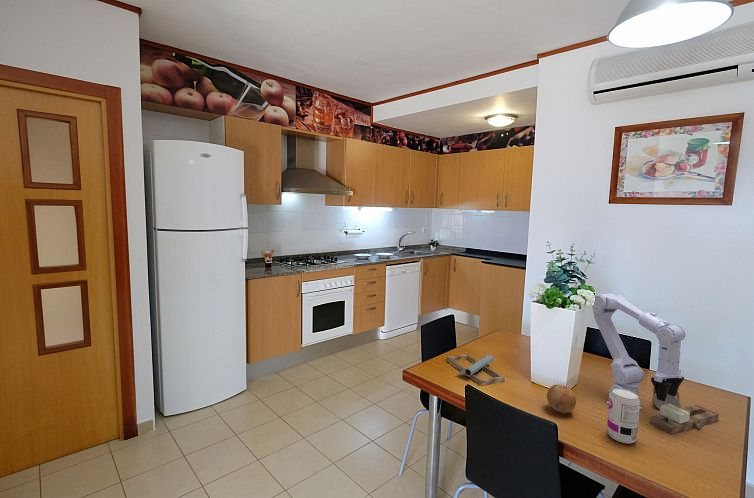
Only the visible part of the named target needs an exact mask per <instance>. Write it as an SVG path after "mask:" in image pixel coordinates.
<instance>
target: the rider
mask: <svg viewBox="0 0 754 498" xmlns="http://www.w3.org/2000/svg"><path fill="white" fill-rule="evenodd" d="M659 414H661V415H663V416H665V417H667V418H668V422H672V421H675V422H678V423H684V422H687V421H689V418H690V413H689V412H687V411H685V410H683V409H681V408H678V407H676V406H674V405H671V404H664V405H662V406H661V407H660V409H659Z"/></svg>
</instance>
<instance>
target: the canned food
mask: <svg viewBox="0 0 754 498" xmlns="http://www.w3.org/2000/svg"><path fill="white" fill-rule="evenodd" d="M652 392H653V393H652V395H653V396H652V401H653V404H654V406H655V407H656V408H657V409H658V410H660V407H661V406H662V405H664V404H671V405H674V406H676V407H678V408H680V407H681V400H680V393H679V390H678V391H677V393H676V396H675V397H674V396H671V395H668V394H667V397H666V400H665V401H661V400H658V399H657V396H656V392H655V388H654V387H653V391H652ZM680 409H681V408H680Z"/></svg>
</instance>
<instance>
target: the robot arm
mask: <svg viewBox="0 0 754 498" xmlns="http://www.w3.org/2000/svg"><path fill="white" fill-rule="evenodd" d="M593 296H595V302H594V305H593V306H591V307H592V310H593V318H594V320H595V323H596V325H597V327H598V329H599V332H600V334H601V336H602V338H603V340H604V342H605V345H606V347H607V349H608V351H609V353H610V356H611V358H612V359H613V361H612V363H611V364H610V368H611V371H612V378H613V380H614V381H615V384H613V385H612V386H611V387H609V394H608V399H609V398H610V393H611V392H612V390H613V389H625V390H629V391H631V392H633V393H635V394H637V395H638V396H639V390H640V385H641V383H642V382H643V381H644V380H645V372H644V370H643V369H642V368H641V367H640V366H639V364H638V363H637V361H636V360H634V359H633V358H632V357H630V356H629V353H628V352H627V350H626V347H625V345H624V343H623V341H622V339H621V337H620V335H619V332H618V330H617V327H616V326H615V324H614V322H613V320H612V317H613V315H614V313H615V312H617V310H620V311H621V312H624V314H627V315H628V316H630V317H632V318H634V319H635V320H638V324H639V325H640V326H641V327H643V328H644V329H646V330H647V331H649V332H650V333H652V334H654V335H655V336H656V339H657V340H658V345H659V346H658V359H657V360H658V361H657V369H656V373H655V374H654V377H653V376H652V377H650V382H651V383H652V385H653V389H654V388H655V392H656V396H657V399H658V400H661V401H665V400H666V397H667V394H668V395H671V396H674V397H675V396H676V393H677V391H678V392H679V389H680V388H679V387H680V385H681V384H682V382H683V381H685V377H684V376H683V375H682V373H681V372H682V371H681V370H682V369H681V368H680V360H681V359H680V358H681V357H680V356H681V345H682V344H681V341H683V340H685V338H686V332H685V329H684V328H682V326H680V325H679V324H676V323H675V324H674V323H673V324H671V323H670V322H669V321H668V320H664V319H662V318H661V317H659V316H657V313H655V312H649V311H648V312H644V311H643V310H641V309H639V308H638V307H636V306H635V305H633V304H632V303H631V302H630V301H627V300H626V299H625V298H624V296H622V295H619V294H618V293H615V292H610V293H596V294H594V295H593ZM606 404H608V405H609V400H607V401H606ZM640 410H643V407H642V406H640Z"/></svg>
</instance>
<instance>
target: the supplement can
mask: <svg viewBox="0 0 754 498" xmlns="http://www.w3.org/2000/svg"><path fill="white" fill-rule="evenodd" d="M608 401H609V404H608V411H607V423H606V434H607V435H608V436H609V437H611V439H613V440H615V441H617V442H620V443H622V444H628V445H629V444H633V443H636V442H637V439H638V430H639V420H640V419H639V417H640V410H641V409H640V407H641V401H640V399H639V394H638V395H637V394H635V393H633V392H631V391H629V390H625V389H613V390H612V392H611V393H610V398H609V397H608Z"/></svg>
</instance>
